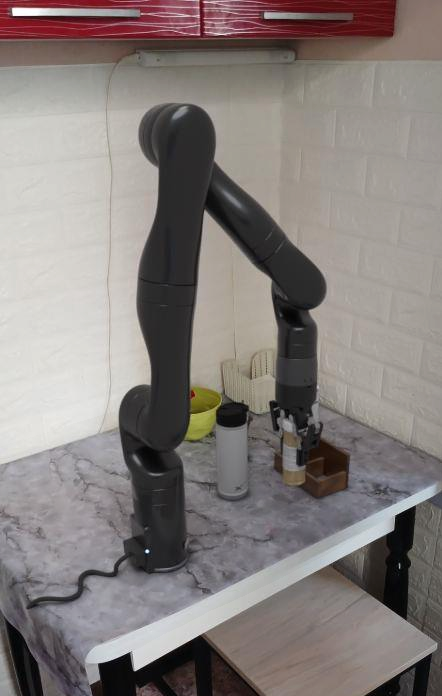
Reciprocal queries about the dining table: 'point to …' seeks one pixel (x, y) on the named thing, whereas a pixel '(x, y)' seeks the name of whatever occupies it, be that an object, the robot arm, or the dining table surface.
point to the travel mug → (232, 450)
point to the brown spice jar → (291, 457)
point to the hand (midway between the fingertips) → (294, 459)
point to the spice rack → (322, 469)
